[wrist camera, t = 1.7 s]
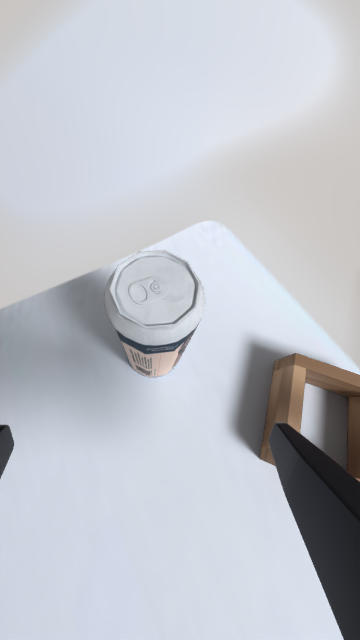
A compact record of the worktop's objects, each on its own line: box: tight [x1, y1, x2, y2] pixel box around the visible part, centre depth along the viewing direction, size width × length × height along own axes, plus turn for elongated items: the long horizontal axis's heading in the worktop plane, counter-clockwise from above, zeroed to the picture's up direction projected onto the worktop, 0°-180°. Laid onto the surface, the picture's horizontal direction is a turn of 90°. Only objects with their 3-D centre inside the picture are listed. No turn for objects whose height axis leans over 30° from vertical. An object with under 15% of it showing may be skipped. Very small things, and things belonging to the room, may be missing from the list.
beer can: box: [104, 250, 205, 377], centre depth 16 cm, size 5×5×12 cm
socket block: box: [260, 353, 360, 481], centre depth 19 cm, size 8×8×4 cm
